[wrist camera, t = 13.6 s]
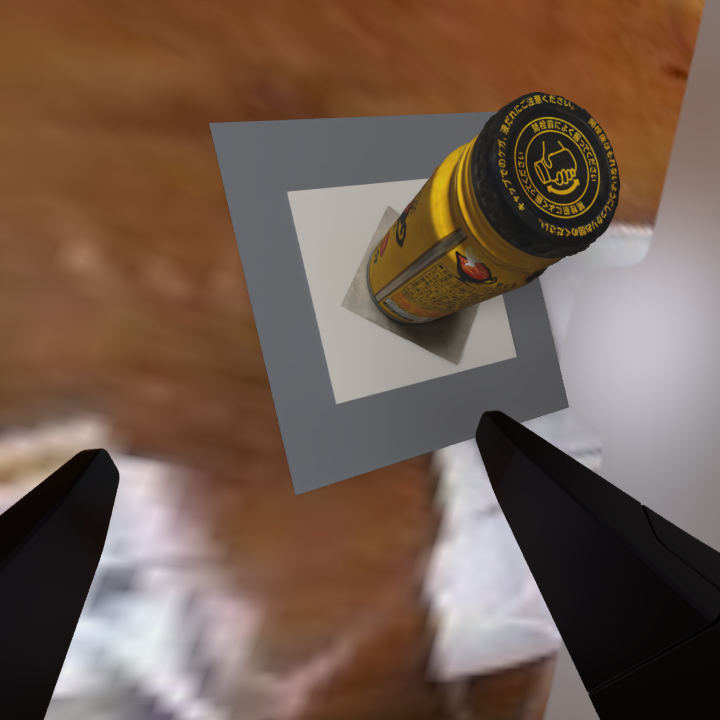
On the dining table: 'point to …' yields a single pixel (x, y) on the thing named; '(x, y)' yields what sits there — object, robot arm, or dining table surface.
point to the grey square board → (332, 280)
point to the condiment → (488, 222)
